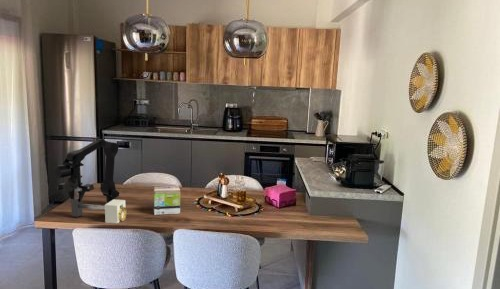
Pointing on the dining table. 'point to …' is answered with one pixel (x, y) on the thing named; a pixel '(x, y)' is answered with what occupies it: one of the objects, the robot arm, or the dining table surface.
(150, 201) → the dining table surface
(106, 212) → the bearing block
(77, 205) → the shaft
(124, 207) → the spacer
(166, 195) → the tea box
